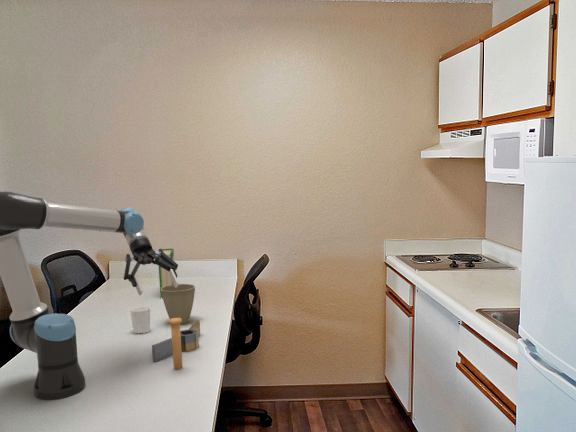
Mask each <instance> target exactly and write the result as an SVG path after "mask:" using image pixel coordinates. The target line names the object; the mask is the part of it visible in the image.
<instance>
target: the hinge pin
mask: <svg viewBox="0 0 576 432" xmlns="http://www.w3.org/2000/svg"><path fill="white" fill-rule="evenodd" d="M181 322H182V319H181V318H171V319H170V318H169V319H168V324H169V325H170V333H171V338H172V349H173V355H172V359H173V360H172V361H173V362H172V363H173V369H174V370H181V369H182V368H183V367H184V366H183V353H182V352H183V351H182V350H181V334H180V331H181V324H180V323H181Z"/></svg>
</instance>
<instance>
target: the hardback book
mask: <svg viewBox="0 0 576 432" xmlns="http://www.w3.org/2000/svg"><path fill="white" fill-rule="evenodd" d="M161 249H162V250H163V252H164V253H165V254H166V255H167V256H168V257H170V258H171V259H172V260H173V261H174V262H175V254H174V252H175V250H174V248H161ZM159 258H160V257H159ZM160 259H161V258H160ZM161 260H162V259H161ZM158 279H159V281H158V282H159V291H160V292H159V294H160V298H161V297H162V292H161V288H162V287H165V286H169V285H174V284H173V282H172V280H171V278H170V276H169V271H167V270H165V269H164V268H162V267H160V266H158Z"/></svg>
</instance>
